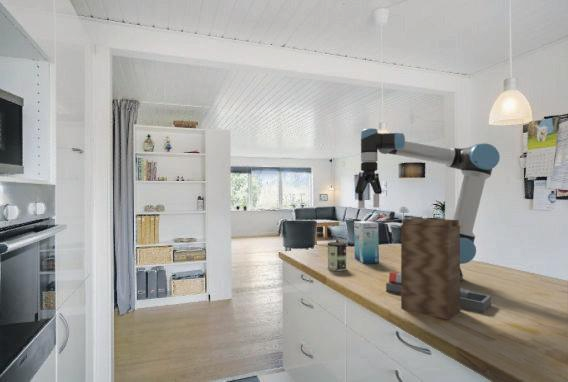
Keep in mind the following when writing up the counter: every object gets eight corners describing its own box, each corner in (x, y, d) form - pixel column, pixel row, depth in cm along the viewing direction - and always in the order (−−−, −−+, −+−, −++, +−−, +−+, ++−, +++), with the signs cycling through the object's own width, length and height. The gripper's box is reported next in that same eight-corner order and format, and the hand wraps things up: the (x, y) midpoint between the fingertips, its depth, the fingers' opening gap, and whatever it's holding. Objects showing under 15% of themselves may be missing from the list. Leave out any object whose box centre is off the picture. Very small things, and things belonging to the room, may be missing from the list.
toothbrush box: (353, 258, 211) (353, 220, 212) (369, 258, 212) (369, 220, 212) (362, 263, 194) (362, 222, 194) (379, 263, 194) (379, 222, 195)
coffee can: (346, 267, 184) (346, 242, 185) (346, 271, 174) (346, 244, 174) (328, 266, 186) (328, 241, 187) (326, 270, 176) (326, 244, 177)
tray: (386, 291, 138) (386, 283, 139) (397, 286, 146) (397, 278, 146) (483, 312, 113) (483, 302, 113) (491, 305, 121) (491, 295, 121)
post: (401, 308, 118) (401, 219, 118) (414, 300, 127) (414, 217, 127) (448, 320, 107) (448, 221, 107) (460, 310, 116) (459, 219, 116)
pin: (388, 281, 140) (389, 272, 140) (392, 279, 143) (393, 270, 143) (466, 304, 120) (467, 293, 120) (469, 301, 123) (470, 291, 123)
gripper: (375, 164, 165) (375, 206, 165) (347, 160, 147) (347, 208, 147) (389, 163, 160) (389, 207, 159) (362, 159, 142) (362, 208, 141)
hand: (369, 207), depth 153 cm, fingers open, 13 cm apart
